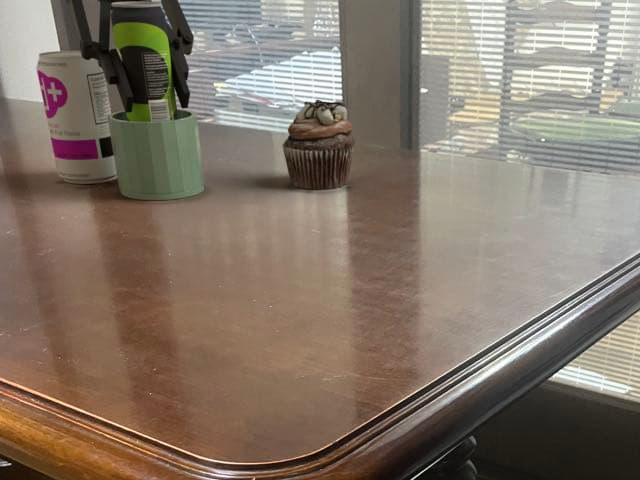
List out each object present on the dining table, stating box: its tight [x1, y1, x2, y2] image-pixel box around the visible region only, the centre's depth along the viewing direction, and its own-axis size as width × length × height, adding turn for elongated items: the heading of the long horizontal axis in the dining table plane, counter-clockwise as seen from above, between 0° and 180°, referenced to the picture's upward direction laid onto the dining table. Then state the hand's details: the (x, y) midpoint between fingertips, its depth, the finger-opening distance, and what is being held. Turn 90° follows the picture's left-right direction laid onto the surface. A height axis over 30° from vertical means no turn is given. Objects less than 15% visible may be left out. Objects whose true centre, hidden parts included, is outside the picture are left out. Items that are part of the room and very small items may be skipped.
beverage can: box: [110, 1, 178, 122], centre depth 107 cm, size 6×6×15 cm
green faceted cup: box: [107, 108, 206, 201], centre depth 112 cm, size 11×11×9 cm
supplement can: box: [36, 50, 118, 185], centre depth 116 cm, size 8×8×15 cm
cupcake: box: [281, 99, 356, 190], centre depth 116 cm, size 10×10×10 cm
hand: (157, 102), depth 106 cm, fingers closed on beverage can, 6 cm apart
